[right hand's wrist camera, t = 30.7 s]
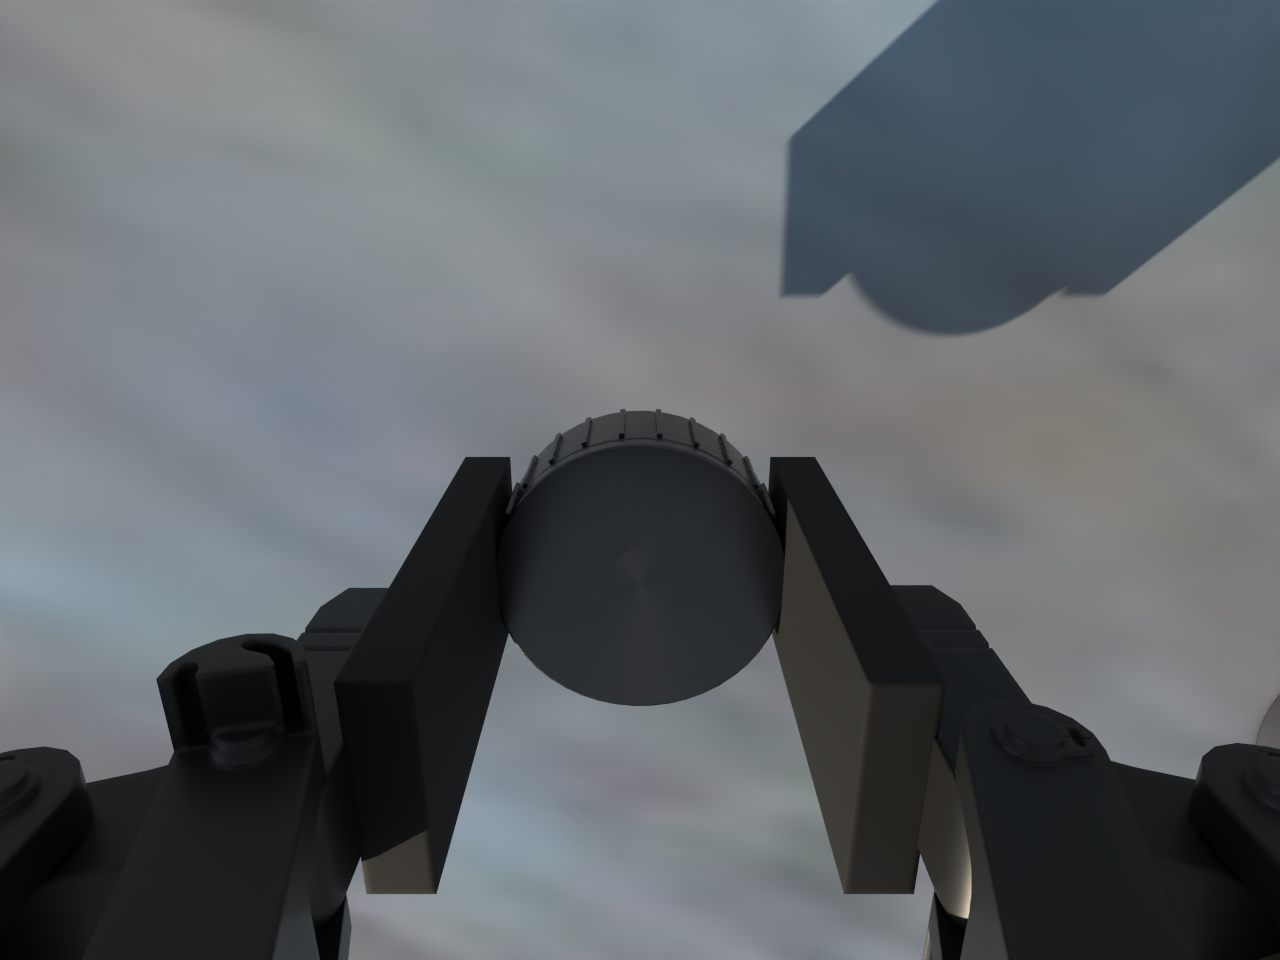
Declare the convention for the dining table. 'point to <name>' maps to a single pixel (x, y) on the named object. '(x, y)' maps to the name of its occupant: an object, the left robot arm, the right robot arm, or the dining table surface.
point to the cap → (640, 560)
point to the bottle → (1270, 727)
